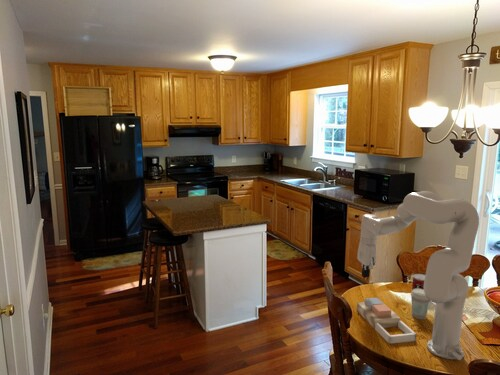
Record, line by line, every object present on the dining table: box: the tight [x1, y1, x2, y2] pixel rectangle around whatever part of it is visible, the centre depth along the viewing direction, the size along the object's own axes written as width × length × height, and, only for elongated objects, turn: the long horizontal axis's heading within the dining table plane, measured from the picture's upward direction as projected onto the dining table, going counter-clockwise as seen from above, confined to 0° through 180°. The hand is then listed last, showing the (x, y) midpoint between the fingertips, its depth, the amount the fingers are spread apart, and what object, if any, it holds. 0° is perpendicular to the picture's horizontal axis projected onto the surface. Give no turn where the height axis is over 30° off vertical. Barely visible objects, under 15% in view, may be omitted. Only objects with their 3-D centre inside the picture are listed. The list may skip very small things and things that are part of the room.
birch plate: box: [356, 301, 401, 330], centre depth 173 cm, size 16×12×4 cm
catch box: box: [374, 319, 417, 344], centre depth 159 cm, size 11×12×3 cm
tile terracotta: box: [372, 303, 392, 317], centre depth 169 cm, size 6×6×2 cm
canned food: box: [411, 273, 426, 291], centre depth 194 cm, size 8×8×11 cm
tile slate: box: [364, 297, 384, 310], centre depth 176 cm, size 6×6×2 cm
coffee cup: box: [410, 289, 431, 320], centre depth 174 cm, size 8×8×12 cm
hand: (365, 276), depth 183 cm, fingers closed
